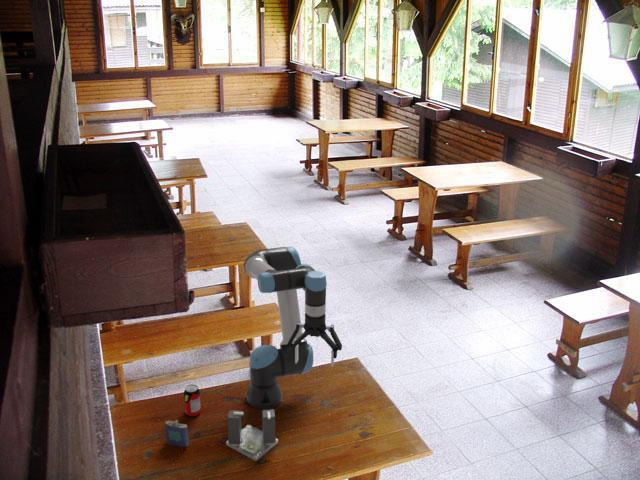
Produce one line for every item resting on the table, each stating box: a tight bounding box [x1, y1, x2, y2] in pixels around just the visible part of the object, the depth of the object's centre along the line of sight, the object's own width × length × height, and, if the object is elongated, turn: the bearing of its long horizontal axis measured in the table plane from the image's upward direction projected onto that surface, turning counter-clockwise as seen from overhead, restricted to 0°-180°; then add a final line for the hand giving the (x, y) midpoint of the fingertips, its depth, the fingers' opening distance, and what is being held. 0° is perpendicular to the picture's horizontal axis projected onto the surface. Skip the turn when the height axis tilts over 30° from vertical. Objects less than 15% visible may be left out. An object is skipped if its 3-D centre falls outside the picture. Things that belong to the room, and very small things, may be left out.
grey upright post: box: [227, 409, 245, 444], centre depth 242 cm, size 6×4×13 cm
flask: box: [164, 419, 190, 448], centre depth 242 cm, size 9×3×11 cm, turn 74°
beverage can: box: [183, 384, 202, 417], centre depth 260 cm, size 6×6×12 cm
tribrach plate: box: [225, 424, 279, 462], centre depth 244 cm, size 16×14×3 cm
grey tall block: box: [261, 408, 276, 444], centre depth 242 cm, size 6×4×13 cm
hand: (314, 363), depth 240 cm, fingers open, 13 cm apart
